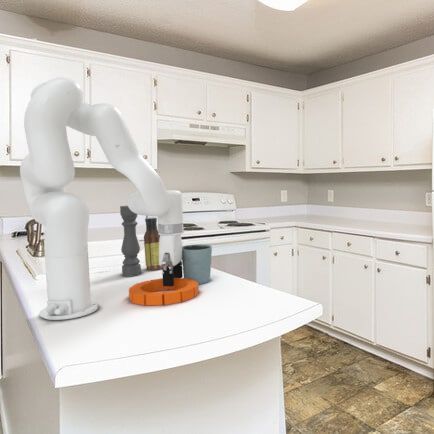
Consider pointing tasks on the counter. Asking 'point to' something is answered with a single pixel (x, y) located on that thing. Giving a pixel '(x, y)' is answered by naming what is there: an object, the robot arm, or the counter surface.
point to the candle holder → (130, 243)
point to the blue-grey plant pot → (197, 262)
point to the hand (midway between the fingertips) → (173, 281)
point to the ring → (146, 296)
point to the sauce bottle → (151, 244)
